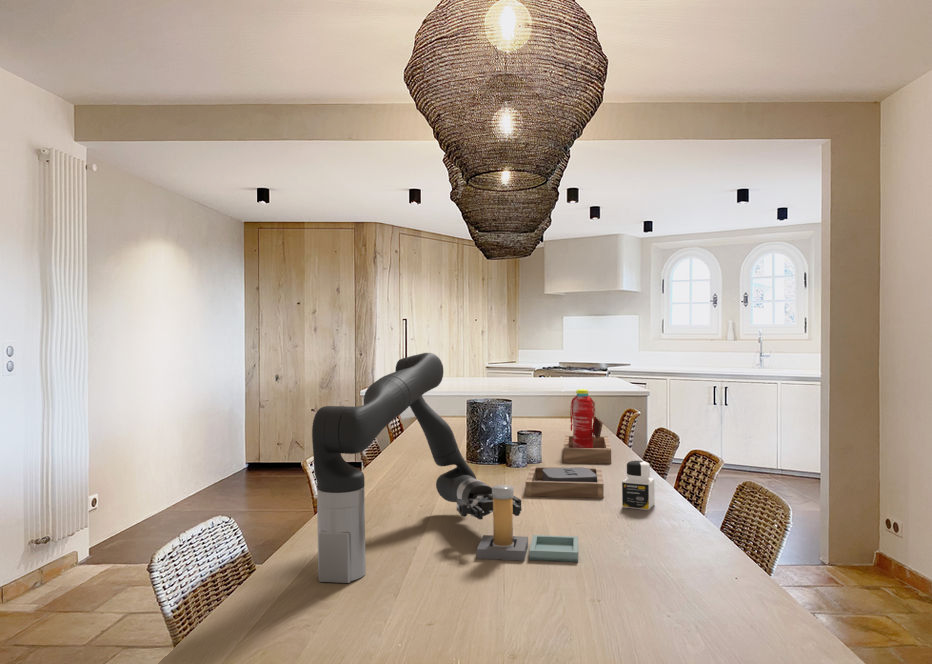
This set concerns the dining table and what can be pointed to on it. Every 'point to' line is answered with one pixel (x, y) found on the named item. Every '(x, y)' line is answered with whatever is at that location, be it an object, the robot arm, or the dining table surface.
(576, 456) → the bottle rack
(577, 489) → the square wooden tray
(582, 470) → the streaming box
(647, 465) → the medicine bottle
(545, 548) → the parts tray
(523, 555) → the frame
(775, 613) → the dining table surface
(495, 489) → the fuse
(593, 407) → the water bottle
